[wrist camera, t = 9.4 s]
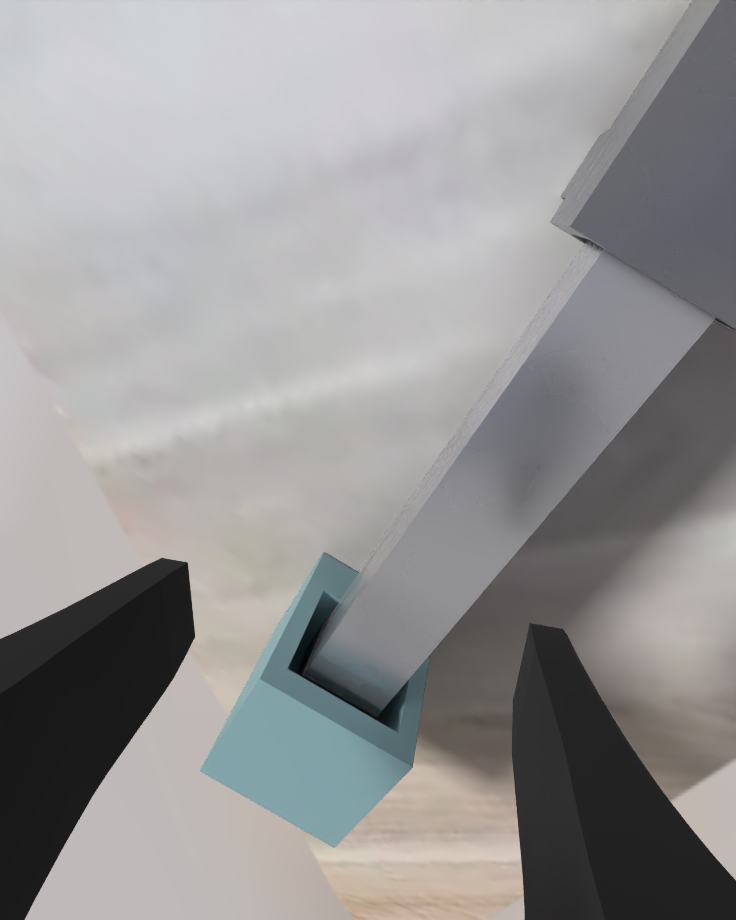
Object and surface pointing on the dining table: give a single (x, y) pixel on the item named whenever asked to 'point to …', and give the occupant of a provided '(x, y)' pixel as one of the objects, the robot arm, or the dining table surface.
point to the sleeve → (671, 168)
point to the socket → (314, 728)
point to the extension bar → (504, 471)
